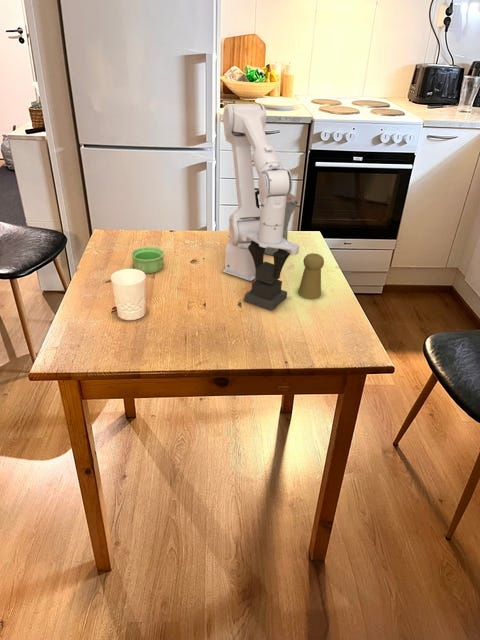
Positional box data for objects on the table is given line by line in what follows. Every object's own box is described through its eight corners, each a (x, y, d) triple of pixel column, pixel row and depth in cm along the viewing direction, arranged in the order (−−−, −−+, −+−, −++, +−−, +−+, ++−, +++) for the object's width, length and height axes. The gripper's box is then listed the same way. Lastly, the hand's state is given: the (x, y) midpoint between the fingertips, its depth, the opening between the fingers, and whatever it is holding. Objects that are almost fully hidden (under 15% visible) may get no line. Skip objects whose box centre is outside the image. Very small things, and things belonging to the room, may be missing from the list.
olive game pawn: (320, 300, 129) (325, 262, 123) (297, 297, 130) (301, 259, 124) (321, 289, 134) (327, 252, 128) (299, 286, 135) (303, 249, 129)
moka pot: (286, 261, 148) (293, 196, 137) (242, 248, 154) (245, 184, 143) (300, 250, 155) (308, 187, 144) (257, 238, 161) (261, 177, 150)
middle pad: (251, 294, 126) (251, 283, 125) (262, 285, 130) (263, 274, 129) (270, 300, 124) (271, 289, 122) (281, 292, 128) (282, 281, 126)
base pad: (244, 301, 127) (244, 294, 126) (260, 289, 133) (260, 282, 132) (271, 311, 124) (272, 304, 122) (286, 298, 129) (287, 291, 128)
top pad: (254, 279, 124) (255, 267, 122) (264, 272, 127) (265, 261, 126) (270, 284, 122) (271, 273, 120) (279, 277, 125) (280, 266, 124)
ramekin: (170, 270, 140) (169, 255, 138) (140, 277, 136) (139, 262, 133) (156, 257, 146) (155, 244, 144) (127, 264, 142) (126, 250, 139)
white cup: (153, 308, 122) (151, 272, 117) (138, 324, 116) (135, 287, 110) (125, 302, 124) (122, 266, 119) (108, 317, 118) (104, 280, 112)
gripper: (236, 219, 117) (234, 271, 124) (291, 234, 111) (285, 288, 118) (252, 211, 122) (249, 261, 129) (305, 225, 116) (299, 277, 123)
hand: (267, 273), depth 124 cm, fingers closed on top pad, 4 cm apart
